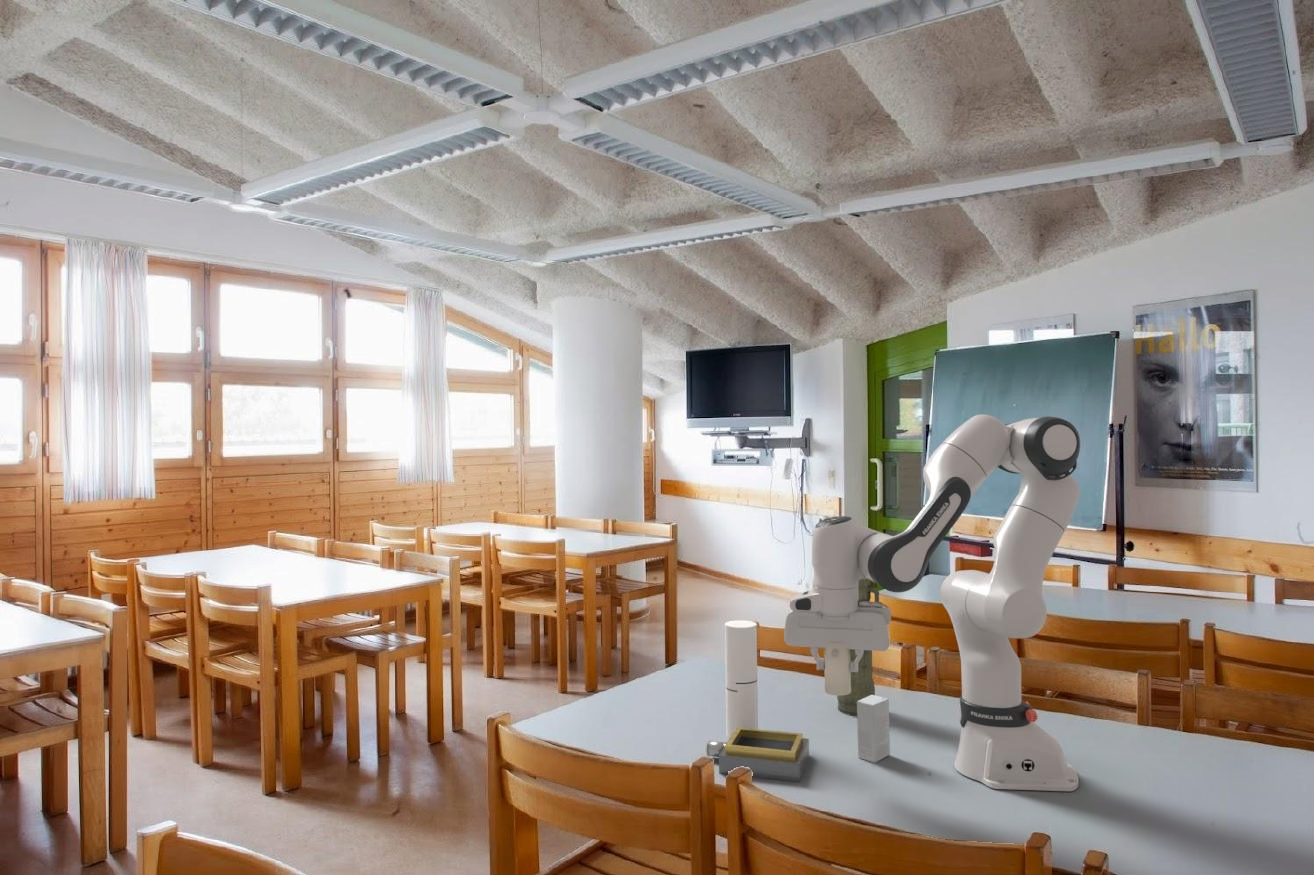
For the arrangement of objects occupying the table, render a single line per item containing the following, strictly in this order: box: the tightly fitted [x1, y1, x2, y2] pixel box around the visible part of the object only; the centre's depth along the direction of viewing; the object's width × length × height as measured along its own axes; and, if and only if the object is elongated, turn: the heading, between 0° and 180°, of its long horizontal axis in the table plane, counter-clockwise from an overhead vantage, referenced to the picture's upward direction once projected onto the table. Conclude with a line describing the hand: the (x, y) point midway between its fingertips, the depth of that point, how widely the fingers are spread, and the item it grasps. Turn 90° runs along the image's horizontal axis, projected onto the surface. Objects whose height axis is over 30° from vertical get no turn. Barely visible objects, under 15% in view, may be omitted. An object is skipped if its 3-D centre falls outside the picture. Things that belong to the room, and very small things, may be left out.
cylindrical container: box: [724, 619, 759, 739], centre depth 190 cm, size 7×7×25 cm
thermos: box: [836, 579, 880, 716], centre depth 206 cm, size 9×12×35 cm
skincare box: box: [856, 694, 891, 763], centre depth 177 cm, size 6×4×12 cm
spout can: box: [823, 643, 851, 697], centre depth 165 cm, size 5×7×10 cm
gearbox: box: [705, 727, 810, 783], centre depth 174 cm, size 20×14×5 cm
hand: (837, 670), depth 166 cm, fingers closed on spout can, 5 cm apart
